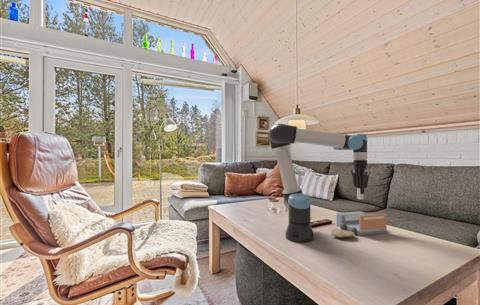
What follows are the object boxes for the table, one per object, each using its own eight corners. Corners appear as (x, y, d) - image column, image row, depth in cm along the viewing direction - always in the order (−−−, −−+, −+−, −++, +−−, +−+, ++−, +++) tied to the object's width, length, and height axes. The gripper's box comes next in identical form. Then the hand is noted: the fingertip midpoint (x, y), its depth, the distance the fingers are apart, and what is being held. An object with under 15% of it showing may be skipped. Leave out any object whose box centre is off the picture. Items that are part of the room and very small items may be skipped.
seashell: (352, 232, 131) (351, 227, 131) (357, 240, 119) (356, 235, 119) (330, 232, 134) (329, 227, 134) (333, 240, 122) (332, 235, 122)
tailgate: (361, 230, 126) (361, 215, 126) (359, 229, 128) (359, 215, 128) (386, 228, 130) (386, 213, 130) (384, 227, 132) (384, 213, 132)
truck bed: (357, 237, 126) (357, 222, 126) (334, 226, 146) (334, 213, 146) (389, 234, 131) (389, 219, 131) (363, 223, 151) (363, 211, 151)
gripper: (374, 159, 133) (374, 201, 133) (357, 159, 146) (357, 196, 146) (363, 160, 131) (363, 201, 131) (346, 159, 144) (347, 197, 144)
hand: (360, 199), depth 138 cm, fingers closed
